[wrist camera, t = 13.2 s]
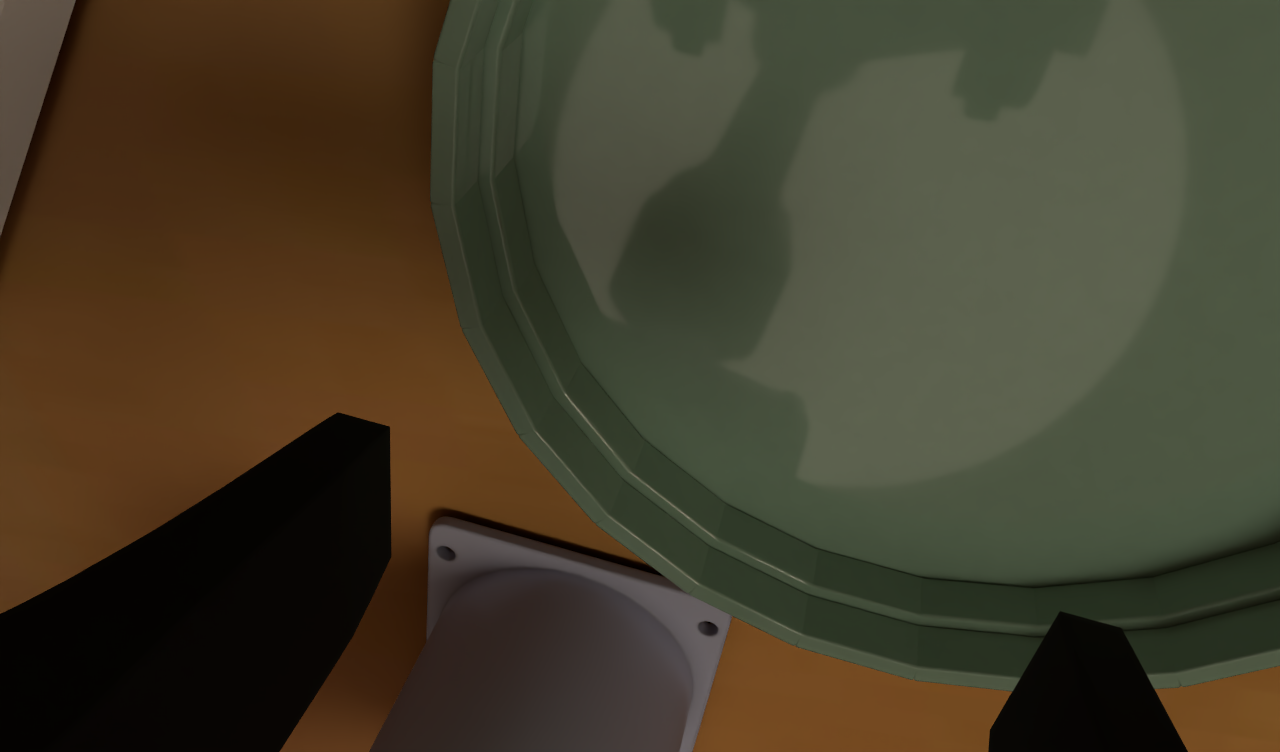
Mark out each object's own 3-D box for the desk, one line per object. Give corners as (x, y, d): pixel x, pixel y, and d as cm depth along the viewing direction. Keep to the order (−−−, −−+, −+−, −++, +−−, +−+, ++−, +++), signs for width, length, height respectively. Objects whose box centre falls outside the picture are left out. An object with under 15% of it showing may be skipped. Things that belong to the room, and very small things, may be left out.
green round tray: (1282, 661, 23) (1327, 800, 20) (480, 441, 25) (422, 541, 22) (2128, -378, 12) (2495, -384, 9) (546, -621, 14) (444, -687, 11)
